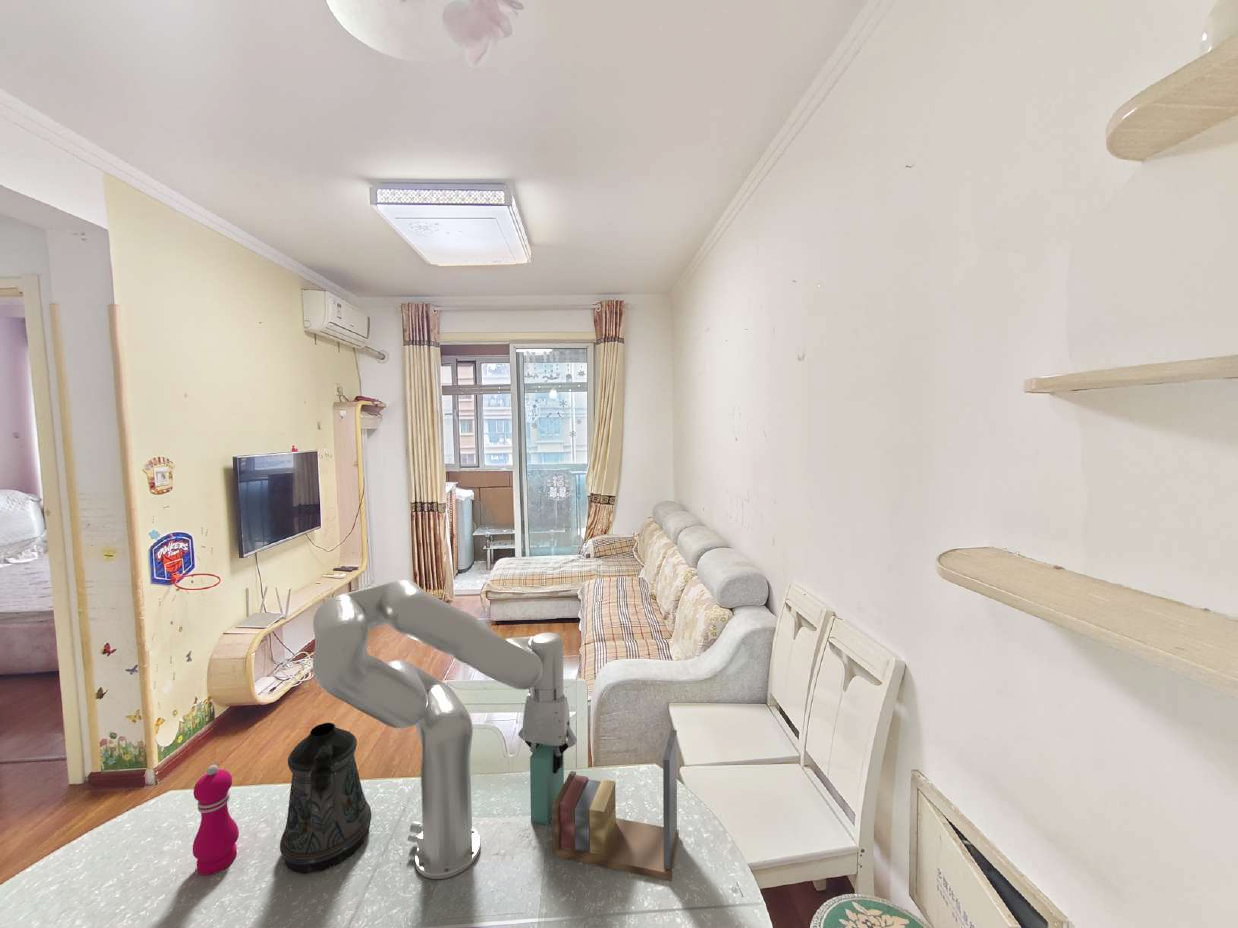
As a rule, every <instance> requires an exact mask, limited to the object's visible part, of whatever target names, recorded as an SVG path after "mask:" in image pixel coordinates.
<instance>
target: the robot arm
mask: <svg viewBox="0 0 1238 928" xmlns="http://www.w3.org/2000/svg"><path fill="white" fill-rule="evenodd" d="M312 620H313V621H312V623H313V624H312V626H313V631H314V639H315V640H314V642H315V643H314V651H313V657H312V673H313V676H314V678H315V681H316V684H318V685H319V687H320V688H321V689H322V690H323V691H325V692H326V693H327V694H329V695H330V696H332V697H334V698H336V699H338V700H340V701H342V702H344V703H345V704H347V705H349V706H351V707H352V708H355V709H356V710H358V711H359V712H361V713H364V714H365V715H367V716H369V717H371V718H373V719H375V720H377V721H378V722H380V723H382V724H384V725H385V726H388V727H390V728H393V729H406V728H407V729H408V728H410V727H413V726H414V727H415V729H416V732H417V735H418V736H419V737H418V738H419V739H420V743H421V761H420V762H421V763H420V788H421V789H420V790H421V793H420V794H421V821H417V820H416V821H415V820H414V821H412V823H411V824H410V827H409V832H410V833H409V834H408V836H407V842H412V843H416V844H417V849H416V851H415V855H414V864H415V865H414V866H415V867H416V868H415V869H416V870H417V872H418V873H419V874H420V875H421V876H423V877H425V878H428V879H432V880H442V879H443V880H444V879H448V878H451V877H454V876H457V875H458V874H460V873H462V872H464V871H466V869H468V868H469V867H470V866H471V865H472V864H473V863H474V862H475V861H476V859H477V858H478V855H479V853H480V850H481V838H480V837H481V836H480V834H479V832H478V831H477V830H476V829H475V828H473V814H472V809H473V806H472V775H471V774H472V773H471V756H472V755H471V751H472V742H473V738H474V737H473V734H474V730H473V729H474V726H473V722H472V718H471V715H470V713H469V711H468V710H467V709H468V708H466V706H465V705H464V704H463V702H462V700H461V699H459V697H458V695H457V694H456V693H455V691H454V690H453V689H452V688H451V687H450V686H449V685H448V684H446V683H445V682H443V681H442V680H440V679H438V678H436V677H435V676H433V675H431V674H430V673H429V672H426V671H425V670H424V669H422V668H420V667H418V666H417V665H415V664H413V663H411V662H409V661H406V660H401V659H394V660H388V661H386V662H385V661H383V660H382V659H379V658H378V657H375V656H373V655H370V654H369V653H368V650H367V649H368V648H367V647H368V642H369V639H370V638H369V637H370V630H371V629H375V628H378V627H382V626H384V625H388V626H389V627H390V628H391V629H393V630H394V631H395V632H396V633H399V634H401V635H403V636H405V637H407V638H410V639H412V640H414V641H416V642H419V643H422V644H423V645H426V646H428V647H431V648H433V649H434V650H437V651H440V652H441V653H444V654H446V655H448V656H450V657H452V658H454V659H455V660H457V661H459V662H460V663H462V664H464V665H466V666H467V667H470V668H472V669H474V670H475V671H478V672H479V673H481V674H483V675H484V676H487V677H488V678H490V679H493V680H495V681H496V682H499V683H501V684H503V685H506V686H508V687H510V688H513V689H515V690H518V691H519V690H522V691H523V690H528V694H527V695H526V698H525V703H524V709H523V717H522V719H523V721H522V728H521V729H520V731H519V732H518V733H517V736H518V737H519V738H520V739H522V740H523V741H524V743H525V744H526V745H527V746H528V747H529V751H530V752H531V755H532V754H533V752H534V751H535V750H536V748H537V747H538V745H539V744H545V745H552V746H554V750H555V755H554V757H553V772H554V773H555V774H556V773H557V772H558V770H559V768H561V767H562V763H563V752H566V750H568V749H570V748H572V747H573V746H575V745H576V743H577V742H578V739H577V737H576V736H575V733H574V732H573V730H572V729H571V716H570V707H569V702H568V697H567V694H566V693H565V692H564V641H563V638H562V636H561V635H559V634H558V633H556V632H549V631H548V632H541V633H537V634H535V635H534V636H523V637H522V636H521V637H517V636H516V637H510V638H509V637H508V638H504V637H503V636H501V635H500V634H498V633H496V632H495V631H493V630H492V629H491V628H489V627H488V625H486V624H485V623H483V621H481V620H480V619H479V618H476V617H475V616H474V615H472V614H471V613H468V612H466V611H464V610H462V609H460V608H458V607H456V606H453V605H451V604H450V603H448V602H446V601H444V600H442V599H440V598H438V597H436V596H434V595H432V594H430V593H428V592H426V591H425V590H423V588H422V587H421V586H420V585H418V583H416V582H415V581H412V580H409V579H398V580H392V581H388V582H384V583H381V584H376V585H371V586H370V587H365V588H362V589H358V590H353V591H349V592H345V593H342V594H339V595H335V596H333V597H331V598H329V599H327V600H326V601H324V602H322V604H321V605H320V606H319V607H318V608H317V610H316V611H315V614H314V617H313V619H312Z"/></svg>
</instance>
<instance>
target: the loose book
mask: <svg viewBox="0 0 1238 928" xmlns="http://www.w3.org/2000/svg"><path fill="white" fill-rule="evenodd" d="M564 752H565V751H564ZM564 752H563V763H562V767H561V768H559V770H558V772H557V773H556V774H555V773H554V772H553V757H554V755H555V750H554V746H552V745H545V744H539V745H538V747H537V748H536V750H535V751H534V752H533V754H532V753H531V755H530V757H529V771H530V772H529V773H530V775H529V781H530V783H529V784H530V785H529V787H530V790H529V791H530V822H531V823H532V822H533V823H539V824H543V825H547V826H548V825H549V823H550V821H551V819H552V806H553V804H554V802H555V800H556V798H557V796H558V794H559V792H560V791H561V789H562V787H563V785H564V783H565V776H564V775H565V769H564V768H565V766H564V764H565V762H564V760H565V759H564V756H565V755H564V754H565V753H564Z"/></svg>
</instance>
